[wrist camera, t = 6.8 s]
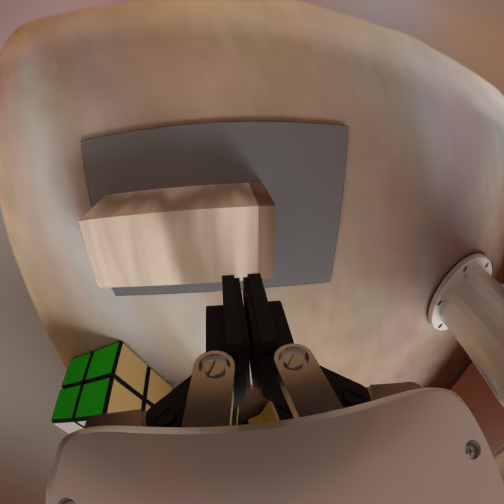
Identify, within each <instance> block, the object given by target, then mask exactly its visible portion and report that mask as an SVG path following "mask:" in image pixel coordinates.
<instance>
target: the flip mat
mask: <svg viewBox="0 0 504 504" xmlns="http://www.w3.org/2000/svg"><path fill="white" fill-rule="evenodd" d="M347 143H348V126H341V125H331V124H318V123H301V122H265V121H254V122H218V123H201V124H189V125H178V126H168V127H160V128H152V129H144V130H137V131H131V132H125V133H119V134H113V135H108V136H103V137H98V138H93V139H89V140H84V141H81V146H82V154H83V161H84V168H85V175H86V181H87V186H88V192H89V197H90V202H91V207H93V206H94V205H95V204H96V203H97V202H98V201H100V200H101V199H102V198H103V197H104V196H105V195H110V194H117V193H126V192H134V191H143V190H152V189H163V188H174V187H186V186H199V185H215V184H233V183H259V182H262V183H263V184H264V186H265V188H266V189H267V191H268V193H269V194H270V196H271V198H272V200H273V201H274V203H275V205H276V218H275V246H274V270H273V278H271V279H262V282H263V285H264V288H268V287H280V286H292V285H303V284H313V283H323V282H330V279H331V274H332V268H333V262H334V256H335V250H336V243H337V236H338V229H339V222H340V214H341V206H342V197H343V188H344V179H345V168H346V156H347ZM240 286H241V290H242V289H243V281H240ZM113 289H114V292H115V295H116V296H125V295H153V294H176V293H195V292H212V291H223V289H222V282H214V283H198V284H180V285H160V286H138V287H113Z"/></svg>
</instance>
